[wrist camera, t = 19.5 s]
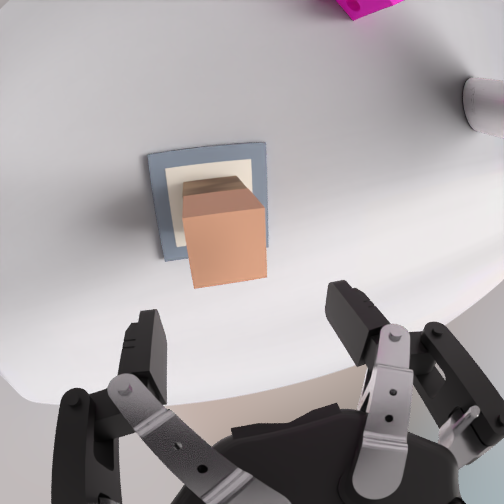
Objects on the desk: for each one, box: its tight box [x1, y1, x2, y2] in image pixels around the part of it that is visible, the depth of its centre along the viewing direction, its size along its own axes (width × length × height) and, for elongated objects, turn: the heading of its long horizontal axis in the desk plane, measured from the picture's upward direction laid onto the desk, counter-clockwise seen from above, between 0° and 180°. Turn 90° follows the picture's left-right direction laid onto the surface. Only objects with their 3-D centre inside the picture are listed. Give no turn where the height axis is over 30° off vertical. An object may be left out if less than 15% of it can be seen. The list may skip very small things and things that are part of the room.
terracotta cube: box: [182, 188, 267, 289], centre depth 20 cm, size 5×5×5 cm
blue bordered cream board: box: [148, 142, 268, 262], centre depth 27 cm, size 11×11×1 cm
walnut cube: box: [182, 176, 247, 198], centre depth 24 cm, size 5×5×5 cm
